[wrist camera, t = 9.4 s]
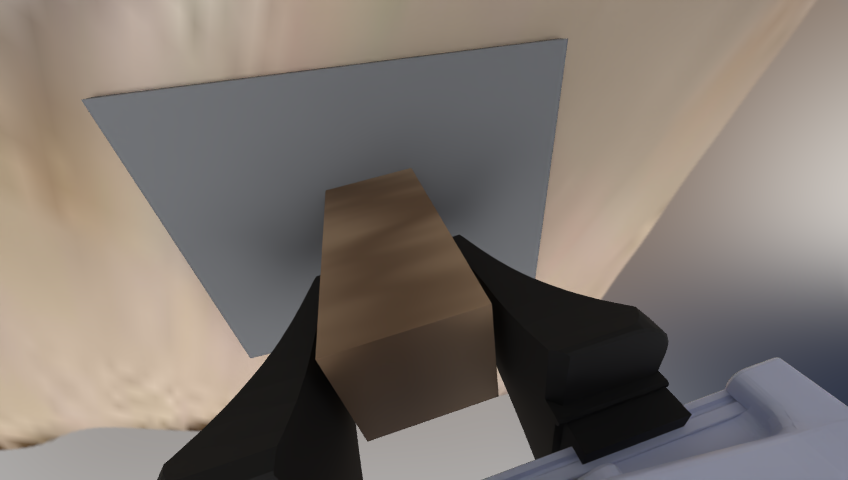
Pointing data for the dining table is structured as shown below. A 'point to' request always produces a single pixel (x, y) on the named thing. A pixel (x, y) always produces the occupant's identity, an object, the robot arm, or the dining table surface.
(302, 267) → the rubber mat
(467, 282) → the walnut block
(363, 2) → the dining table surface
